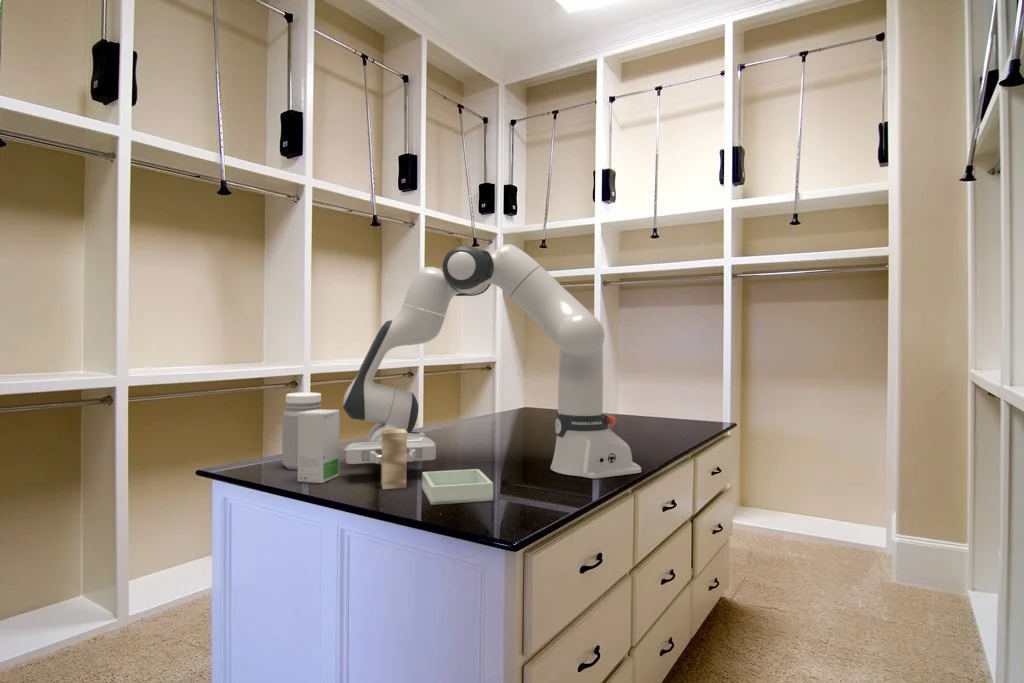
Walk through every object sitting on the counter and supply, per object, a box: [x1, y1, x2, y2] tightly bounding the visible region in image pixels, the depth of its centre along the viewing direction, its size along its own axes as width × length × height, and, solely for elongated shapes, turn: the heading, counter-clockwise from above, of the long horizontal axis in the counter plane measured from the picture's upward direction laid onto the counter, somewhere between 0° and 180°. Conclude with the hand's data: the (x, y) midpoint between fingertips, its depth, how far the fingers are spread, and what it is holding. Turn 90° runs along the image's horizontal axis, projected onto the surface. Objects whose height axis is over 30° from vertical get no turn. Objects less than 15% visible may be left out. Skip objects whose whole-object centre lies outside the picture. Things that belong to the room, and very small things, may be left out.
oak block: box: [380, 429, 408, 490], centre depth 128 cm, size 5×5×12 cm
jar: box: [281, 391, 323, 471], centre depth 145 cm, size 10×10×18 cm
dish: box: [421, 468, 494, 506], centre depth 122 cm, size 13×13×4 cm
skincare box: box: [297, 409, 340, 484], centre depth 133 cm, size 8×7×16 cm
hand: (394, 459), depth 127 cm, fingers closed on oak block, 5 cm apart
